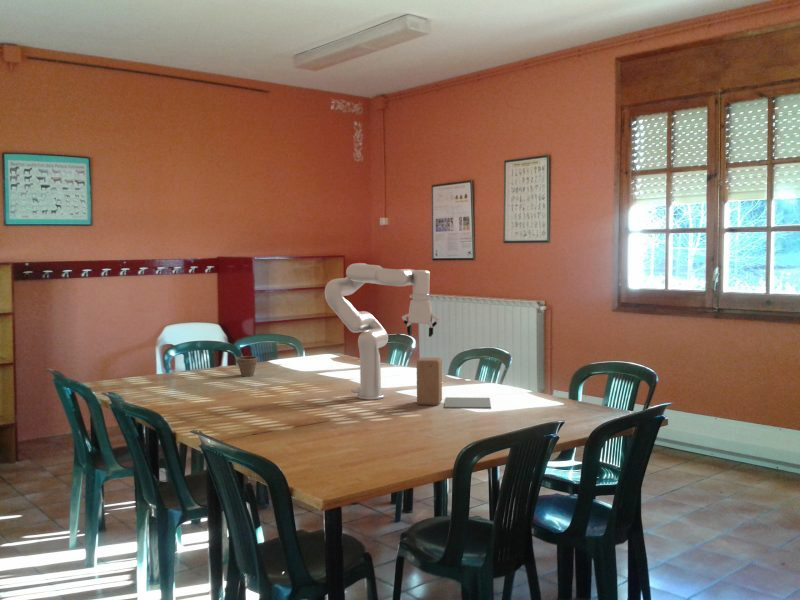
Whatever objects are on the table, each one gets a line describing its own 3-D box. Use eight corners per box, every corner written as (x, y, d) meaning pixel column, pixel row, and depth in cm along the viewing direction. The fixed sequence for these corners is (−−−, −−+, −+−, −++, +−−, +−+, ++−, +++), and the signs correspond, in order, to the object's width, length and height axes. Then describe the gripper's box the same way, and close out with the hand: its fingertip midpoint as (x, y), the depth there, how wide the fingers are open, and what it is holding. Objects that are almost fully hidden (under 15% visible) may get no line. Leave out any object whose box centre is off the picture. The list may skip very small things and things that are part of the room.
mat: (444, 408, 334) (444, 406, 334) (445, 398, 353) (445, 397, 353) (490, 408, 332) (490, 407, 332) (489, 399, 352) (489, 397, 352)
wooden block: (438, 405, 338) (438, 360, 337) (416, 405, 340) (416, 360, 339) (442, 401, 348) (442, 357, 347) (420, 400, 350) (420, 356, 349)
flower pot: (249, 378, 413) (249, 359, 412) (232, 376, 418) (232, 358, 417) (262, 374, 423) (261, 356, 423) (245, 373, 428) (245, 355, 428)
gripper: (400, 297, 343) (399, 335, 344) (437, 299, 338) (436, 337, 339) (405, 296, 350) (404, 333, 352) (441, 297, 345) (440, 335, 346)
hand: (420, 335), depth 345 cm, fingers open, 9 cm apart
